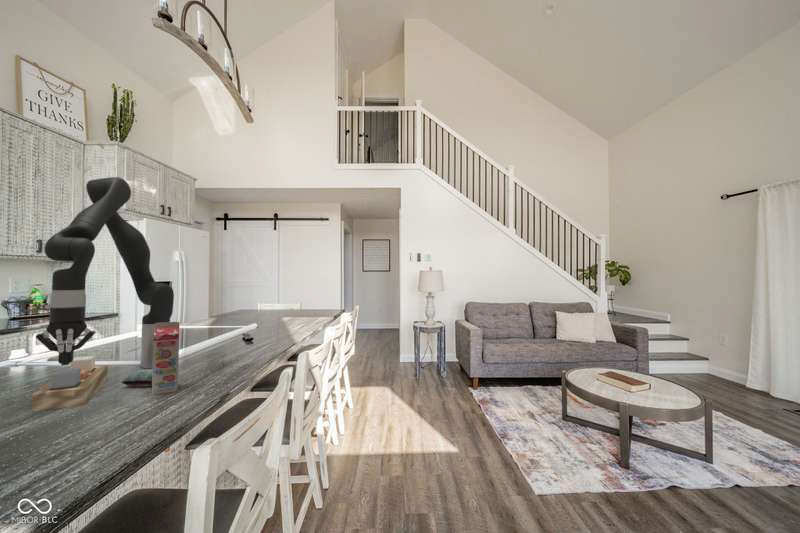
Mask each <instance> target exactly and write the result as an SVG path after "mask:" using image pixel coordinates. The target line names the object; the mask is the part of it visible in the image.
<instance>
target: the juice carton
mask: <svg viewBox="0 0 800 533" xmlns="http://www.w3.org/2000/svg"><path fill="white" fill-rule="evenodd" d="M179 352H180V321H170V322H162V323H155V330H154V337H153V368H152V369H153V373H152V386H151V395H152V396H153V395H159V394H160V395H161V394H166V393H173V392H174V393H175V392H178V388H179V387H178V386H179V360H180V359H179V358H180V356H179Z"/></svg>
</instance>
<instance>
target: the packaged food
mask: <svg viewBox="0 0 800 533" xmlns="http://www.w3.org/2000/svg"><path fill="white" fill-rule="evenodd" d="M152 373H153V368H145V369H141V370H135V371H134V372H132V373H131V374H129V375H128V376H127V377H125V378H124V379H122V380H121V381H120V383H122V384H124V385H125V386H127V387H152Z"/></svg>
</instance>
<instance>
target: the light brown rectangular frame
mask: <svg viewBox="0 0 800 533" xmlns="http://www.w3.org/2000/svg"><path fill="white" fill-rule="evenodd" d="M108 366H109V365H99V366H95V368H94V369H93V370H92V371H89V372H88V377H87V378H86V379H85V380H80V382H79V383H78V384H77V385H76V386H71V387H63V388H54V389H51V382H52V379H50V380H49V381H48V382H47V383H46V384H44V385H43V386H42V387H41V388H39V389H37V390H36V391H35V392H34V393H33V394H32V395H31V396H32V398H31V403H32V404H31V412H33V413H34V412H42V411H47V410H48V411H49V410H54V409H55V410H56V409H63V408H71V407H78V406H83V405H87V404H88V402H89V401H90V400H91V399H92V398H93V397H94V396H95V394H96V393H97V392H98V391H99V389H100V388H102V386H103V385H104V383H105V382H106V381H107V380H108V374H109V373H108V371H109V369H108V368H109V367H108Z"/></svg>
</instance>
